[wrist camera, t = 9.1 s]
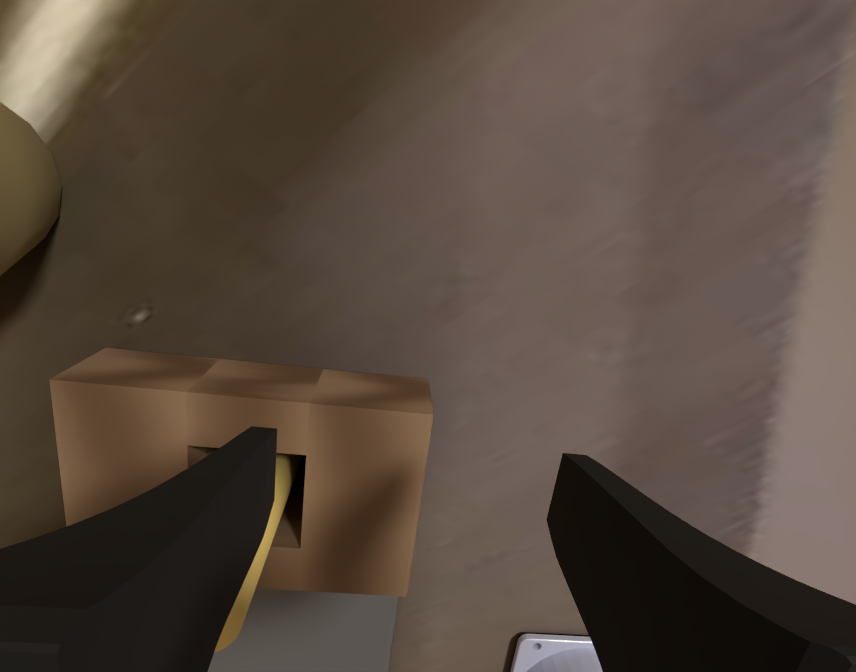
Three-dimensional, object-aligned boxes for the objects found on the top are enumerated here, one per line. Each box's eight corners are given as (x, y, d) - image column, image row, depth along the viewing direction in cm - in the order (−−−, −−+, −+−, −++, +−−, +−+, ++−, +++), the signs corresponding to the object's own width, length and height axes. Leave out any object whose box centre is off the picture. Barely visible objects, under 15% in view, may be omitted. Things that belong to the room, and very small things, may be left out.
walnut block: (428, 379, 22) (433, 414, 19) (405, 540, 25) (406, 596, 21) (105, 347, 21) (49, 379, 17) (118, 521, 23) (72, 578, 20)
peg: (302, 427, 22) (241, 578, 14) (300, 483, 23) (243, 657, 15) (235, 424, 22) (132, 574, 14) (237, 480, 23) (140, 655, 14)
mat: (402, 564, 25) (402, 568, 25) (382, 701, 28) (382, 707, 28) (204, 551, 24) (202, 556, 24) (206, 695, 27) (203, 701, 27)
